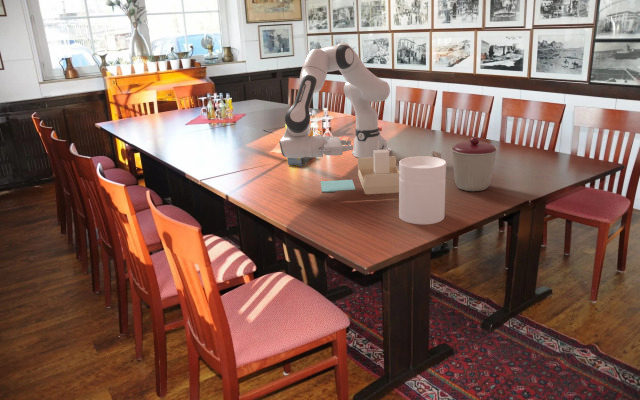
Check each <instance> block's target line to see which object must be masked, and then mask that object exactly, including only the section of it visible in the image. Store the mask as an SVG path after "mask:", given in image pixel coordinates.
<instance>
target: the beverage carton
mask: <svg viewBox="0 0 640 400" xmlns="http://www.w3.org/2000/svg"><path fill="white" fill-rule="evenodd" d="M313 158H314V157H303V158H287V165H299V166H298V167H303V166H304V165H305V163H306V162H307V163H308V162H309V161H310V159H311V160H312V159H313ZM307 163H306V164H307ZM303 164H304V165H303ZM302 165H303V166H302Z"/></svg>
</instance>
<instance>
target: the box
mask: <svg viewBox="0 0 640 400" xmlns="http://www.w3.org/2000/svg"><path fill="white" fill-rule="evenodd" d="M389 157H390V152H389V151H388V150H373V158H374V174H389Z"/></svg>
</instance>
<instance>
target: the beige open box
mask: <svg viewBox="0 0 640 400" xmlns="http://www.w3.org/2000/svg"><path fill="white" fill-rule="evenodd" d="M357 173H358V174H357V175H358V178H359V181H360V184H361V187H362V188H363V192H364V194H365V195H377V194H378V195H380V194H399V168H397V156H396V155H394V156H393V155H392V156H391V155H389V174H374V158H373V157H371V158H358V157H357Z"/></svg>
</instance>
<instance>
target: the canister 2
mask: <svg viewBox="0 0 640 400" xmlns="http://www.w3.org/2000/svg"><path fill="white" fill-rule="evenodd" d="M450 150H451V152H452V164H453V176H454V183H455V185H456V187H457V188H458V189H460V190H462V191H467V192H482V191H484V190H486V189H488V187H490V184H491V180H492V176H493V172H494V166H495V161H496V154H497V152H498V151H499V149H498V147H497V146H495V145H493V144H491V143H488V142H483V141H480V138H479V137H477V136H472V137H471V138H470V139H469V141H463V142H459V143H456V144H455V145H453V146H451V147H450Z"/></svg>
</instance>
